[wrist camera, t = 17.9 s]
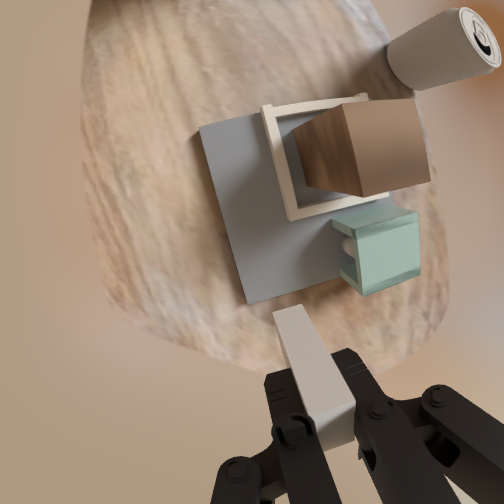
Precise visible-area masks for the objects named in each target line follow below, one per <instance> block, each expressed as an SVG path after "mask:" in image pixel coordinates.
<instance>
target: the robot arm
mask: <svg viewBox="0 0 504 504" xmlns="http://www.w3.org/2000/svg"><path fill="white" fill-rule="evenodd" d="M272 314H273V318H274V321H275V325H276V329H277V333H278V337H279V341H280V345H281V349H282V353H283V356H284V359H285V362H286V365H287V369H284V370H280V371H277V372H273V373H270V374H267V375H266V379H265V382H264V387H265V392H266V396H267V401H268V405H269V410H270V414H271V418H272V423H273V426H272V430H271V435H272V437H273V441H272V443H271V445H270V446H269V447H268V448H267V449H265V450H264V451H262V452H261V453H259V454H257V455H255V456H253V457H251V458H249V457H243V456H239V457H233V458H231V459H228V460H226V461H225V462H224V463H223V464H222V465H221V466H220V468H219V471H218V473H217V478H216V482H215V486H214V490H213V494H212V499H211V503H210V504H275V499H276V498H277V497H279V496H281V495H283V494H285V493H287V494H288V498H289V502H290V504H342V502H341V499H340V497H339V494H338V491H337V488H336V486H335V483H334V480H333V477H332V475H331V472H330V470H329V467H328V464H327V461H326V458H325V455H324V453H323V452H324V451H327V450H329V449H332V448H335V447H338V446H341V445H344V444H346V443H349V442H352V441H354V440H355V436H356V438H357V440H358V443H359V449H358V458H359V460H360V459H361V458H362V459H363V461H364V463H365V465H366V467H367V469H368V472H369V474H370V476H371V478H372V480H373V483H374V485H375V487H376V489H377V491H378V494H379V496H380V498H381V500H382V503H383V504H461V503H460V501H459V499H458V497H457V496H456V494H455V492H454V491H453V489H452V487H451V486H450V484H449V482H448V481H447V479H446V477H445V476H447V477H448V478H449V479H450V480H451V481H452V482H453V483H455V484H456V485H457V486H458V487H459V488H460V489H462V490H463V491H464V492H465V493H466V494H468V495H469V496H470V497H471V498H472V499H474V500H475V501H476V502H477V503H478V504H504V424H502V423H501V422H499V421H498V420H497V419H495V418H493V417H492V416H491V415H489V414H488V413H486V412H485V411H483V410H482V409H481V408H479V407H478V406H476V405H475V404H473V403H472V402H470V401H469V400H468V399H466V398H465V397H463V396H462V395H460V394H459V393H458V392H456V391H455V390H453V389H452V388H450V387H448V386H446V385H439V384H438V385H434V386H431V387H429V388H428V389H426V390H425V392H424V393H423V394H422V397H419V398H414V399H409V400H402V401H401V400H394V399H393V398H390V397H388V396H386V395H385V394H384V392H383V391H382V390H381V388H380V386H379V385H378V383H377V382H376V380H375V379H374V377H373V376H372V374H371V373H370V371H369V370H368V369H367V367H366V365H365V364H364V363H363V361H362V360H361V358H360V357H359V355H358V354H357V353H356V352H354V351H353V350H351V349H349V348H346V349H343V350H341V351H338V352H335V353H332V354H330V353H329V351H328V349H327V348H326V346H325V344H324V342H323V340H322V339H321V337H320V335H319V333H318V332H317V330H316V328H315V326H314V325H313V323H312V321H311V319H310V317H309V316H308V314H307V312H306V310H305V309H304V307H303V305H302V304H299V305H296V306H292V307H289V308H285V309H282V310H279V311H275V312H272ZM444 475H445V476H444Z"/></svg>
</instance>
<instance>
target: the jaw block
mask: <svg viewBox="0 0 504 504" xmlns="http://www.w3.org/2000/svg"><path fill="white" fill-rule="evenodd" d="M293 133H294V137H295V140H296V144H297V148H298V152H299V156H300V160H301V164H302V168H303V172H304V176H305V180H306V184H307V186H308V187H313V188H318V189H324V190H329V191H334V192H338V193H343V194H348V195H353V196H357V197H362V198H365V197H369V196H373V195H377V194H381V193H385V192H389V191H393V190H397V189H401V188H405V187H409V186H413V185H418V184H422V183H426V182H430V181H431V179H430V172H429V165H428V159H427V154H426V148H425V143H424V138H423V134H422V129H421V125H420V121H419V117H418V113H417V109H416V105H415V101H414V99H391V100H374V101H362V102H351V103H342V104H340V105H338V106H336V107H334V108H332V109H330V110H328V111H326V112H324V113H322V114H320V115H318V116H316V117H314V118H313V119H311V120H309V121H307V122H305V123H303V124H302V125H300V126H298V127H296V128H294V129H293Z"/></svg>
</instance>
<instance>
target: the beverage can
mask: <svg viewBox="0 0 504 504" xmlns="http://www.w3.org/2000/svg"><path fill="white" fill-rule="evenodd" d="M387 59H388V62H389V65H390V67H391V69H392V71H393V72H394V74H395V75H396V76H397V78H398V79H399V80H400V81H401V82H402V83H403V84H405V85H406V86H408V87H409V88H411V89H414V90H425V89H429V88H432V87H436V86H439V85H443V84H447V83H451V82H454V81H459V80H463V79H467V78H471V77H475V76H480V75H485V74H489V73H491V72H492V71H493V70H494V68H497V67H499V66H500V64H501V52H500V49H499V46H498V43H497V41H496V38H495V36H494V35H493V33H492V31H491V30H490V28H489V27H488V25H487V24H486V23H485V21H484V20H483V19H482V18H481V17H480V16H479V15H478V14H477V13H476V12H474V11H473V10H471V9H469V8H467V7H462V8H460V9H458V8H449V9H447V10H446V11H443V12H441V13H440V14H438V15H436V16H434V17H432V18H430V19H429V20H427V21H425V22H423V23H421V24H420V25H418V26H416V27H414V28H413V29H411V30H409V31H408V32H406V33H404V34H403V35H401V36H399V37H398V38H396V39H394V40H393V41H391V42H390V44H389V45H388V48H387Z"/></svg>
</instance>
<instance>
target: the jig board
mask: <svg viewBox="0 0 504 504" xmlns="http://www.w3.org/2000/svg"><path fill="white" fill-rule="evenodd" d="M362 101H373V99H372V98H368V95H367V93H359V94H357V95H355V96H354V97H345V98H334V99H325V100H317V101H309V102H302V103H295V104H289V105H283V106H277V107H272V104H269V105H263V106H261V108H260V113H255V114H250V115H246V116H241V117H237V118H233V119H229V120H225V121H221V122H217V123H213V124H209V125H206V126H202V127H198V128H199V132H200V135H201V139H202V143H203V147H204V150H205V154H206V158H207V162H208V165H209V169H210V173H211V177H212V180H213V184H214V188H215V191H216V195H217V198H218V202H219V206H220V209H221V213H222V216H223V220H224V224H225V227H226V231H227V234H228V238H229V241H230V245H231V248H232V252H233V255H234V259H235V262H236V266H237V269H238V273H239V276H240V280H241V283H242V286H243V290H244V293H245V297H246V300H247V303H248V304H252V303H256V302H259V301H263V300H266V299H270V298H273V297H277V296H280V295H284V294H287V293H290V292H294V291H297V290H300V289H304V288H307V287H310V286H314V285H317V284H320V283H323V282H326V281H329V280H333V279H336V278H339V277H341V276H340V269H339V268H342V267H345V266H348V265H351V264H355V263H356V261H355V253H354V245H353V238H352V237H350V236H348V235H347V234H345V233H343V232H341V231H339V230H337V229H335V228H333V225H332V220H331V218H335V217H339V216H343V215H347V214H350V213H354V212H358V211H362V210H366V209H369V208H373V207H377V206H381V205H385V204H389V205H393V206H394V201H393V194H392V191H389V192H385V193H381V194H377V195H373V196H369V197H365V198H362V197H357V196H353V195H348V194H343V193H338V192H334V191H329V190H324V189H318V188H313V187H308V186H307V184H306V180H305V176H304V172H303V168H302V164H301V160H300V156H299V152H298V148H297V144H296V140H295V137H294V133H293V129H294V128H296V127H298V126H300V125H302V124H303V123H305V122H307V121H309V120H311V119H313V118H314V117H316V116H318V115H320V114H322V113H324V112H326V111H328V110H330V109H332V108H334V107H336V106H338V105H340V104H342V103H351V102H362Z"/></svg>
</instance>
